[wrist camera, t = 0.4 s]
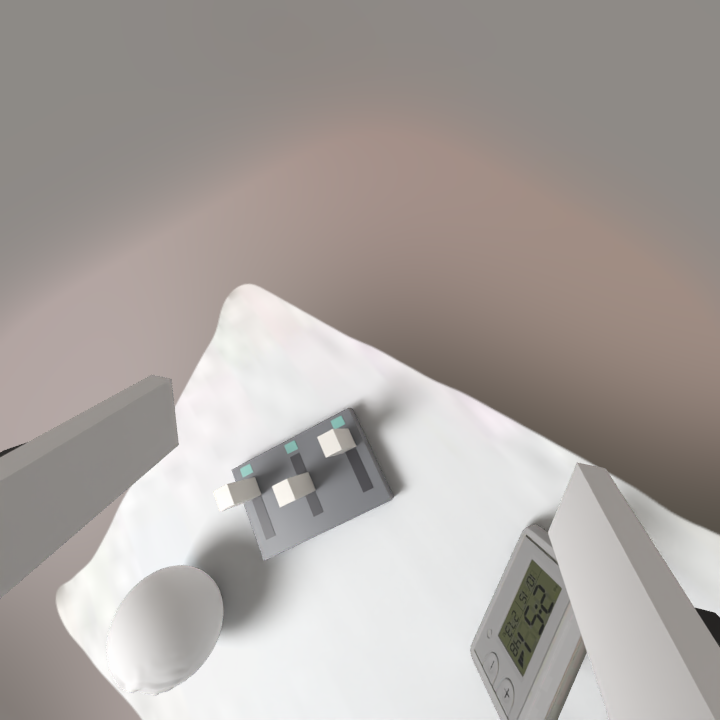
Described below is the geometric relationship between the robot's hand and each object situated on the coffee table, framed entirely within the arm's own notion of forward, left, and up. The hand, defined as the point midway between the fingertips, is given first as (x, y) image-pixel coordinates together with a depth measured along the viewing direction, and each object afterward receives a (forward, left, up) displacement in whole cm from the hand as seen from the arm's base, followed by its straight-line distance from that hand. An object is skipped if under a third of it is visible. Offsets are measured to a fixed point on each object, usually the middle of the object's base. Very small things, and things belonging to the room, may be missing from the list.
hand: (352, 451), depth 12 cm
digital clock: (-20, -1, -35) cm, 40 cm away
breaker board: (+1, +16, -35) cm, 38 cm away
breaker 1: (+3, +23, -32) cm, 40 cm away
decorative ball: (-6, +37, -35) cm, 51 cm away
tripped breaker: (+1, +16, -32) cm, 36 cm away
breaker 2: (+3, +9, -32) cm, 34 cm away
